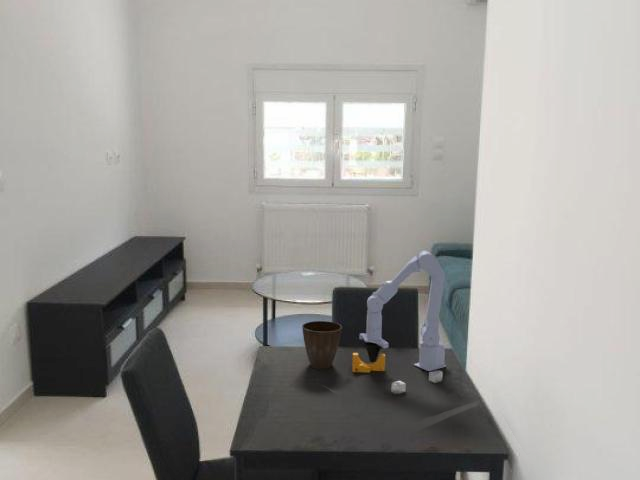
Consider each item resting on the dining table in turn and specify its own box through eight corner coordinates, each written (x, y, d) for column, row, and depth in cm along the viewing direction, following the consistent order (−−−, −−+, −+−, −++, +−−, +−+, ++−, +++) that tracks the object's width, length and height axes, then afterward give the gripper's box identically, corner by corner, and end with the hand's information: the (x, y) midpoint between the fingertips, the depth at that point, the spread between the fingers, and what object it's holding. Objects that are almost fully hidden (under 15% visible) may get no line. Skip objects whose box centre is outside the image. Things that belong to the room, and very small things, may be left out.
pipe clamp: (352, 373, 221) (353, 356, 220) (352, 369, 225) (352, 352, 224) (385, 374, 220) (385, 357, 219) (384, 370, 224) (384, 353, 223)
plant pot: (304, 359, 235) (305, 319, 232) (342, 361, 233) (343, 321, 230) (298, 372, 220) (299, 330, 218) (338, 375, 218) (339, 332, 216)
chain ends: (437, 377, 217) (438, 369, 217) (443, 380, 215) (444, 372, 214) (389, 391, 203) (389, 383, 203) (395, 394, 201) (395, 386, 200)
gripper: (353, 324, 229) (352, 358, 231) (378, 333, 218) (377, 369, 220) (367, 321, 233) (366, 354, 235) (393, 330, 222) (391, 365, 224)
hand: (372, 361), depth 228 cm, fingers closed
